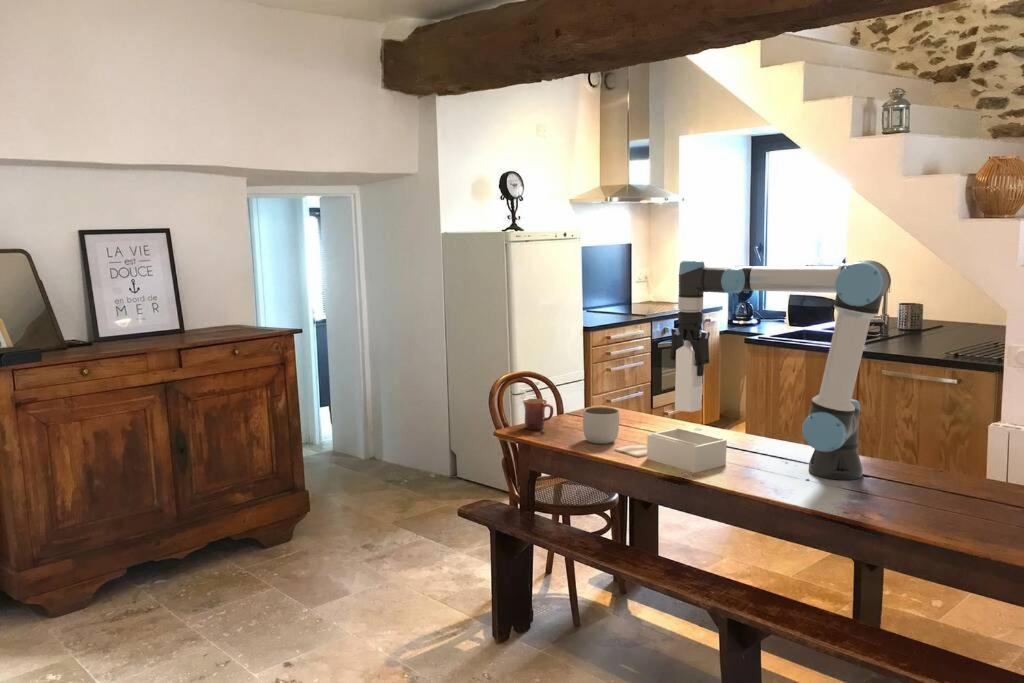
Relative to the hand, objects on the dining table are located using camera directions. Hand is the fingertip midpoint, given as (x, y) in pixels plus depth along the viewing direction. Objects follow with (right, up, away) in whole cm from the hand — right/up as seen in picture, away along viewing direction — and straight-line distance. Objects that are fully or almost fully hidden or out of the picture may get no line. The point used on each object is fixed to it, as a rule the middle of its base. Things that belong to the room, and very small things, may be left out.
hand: (688, 384), depth 258 cm
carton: (0, -25, +3) cm, 25 cm away
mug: (-45, -19, +47) cm, 68 cm away
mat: (-13, -23, +16) cm, 31 cm away
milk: (0, -8, +1) cm, 8 cm away
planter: (-24, -21, +29) cm, 43 cm away
